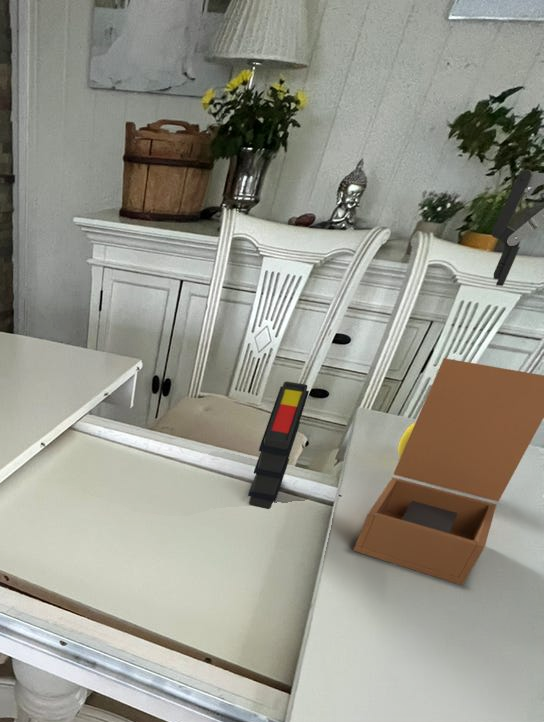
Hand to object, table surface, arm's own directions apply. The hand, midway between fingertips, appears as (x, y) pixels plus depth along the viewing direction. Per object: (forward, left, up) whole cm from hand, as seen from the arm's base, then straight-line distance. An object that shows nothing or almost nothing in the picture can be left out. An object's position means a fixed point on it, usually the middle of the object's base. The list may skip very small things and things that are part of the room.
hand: (542, 289), depth 66 cm
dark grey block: (0, +13, -27) cm, 30 cm away
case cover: (0, +5, -15) cm, 16 cm away
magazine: (+21, +12, -28) cm, 37 cm away
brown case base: (0, +13, -28) cm, 30 cm away
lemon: (+6, -14, -24) cm, 28 cm away
